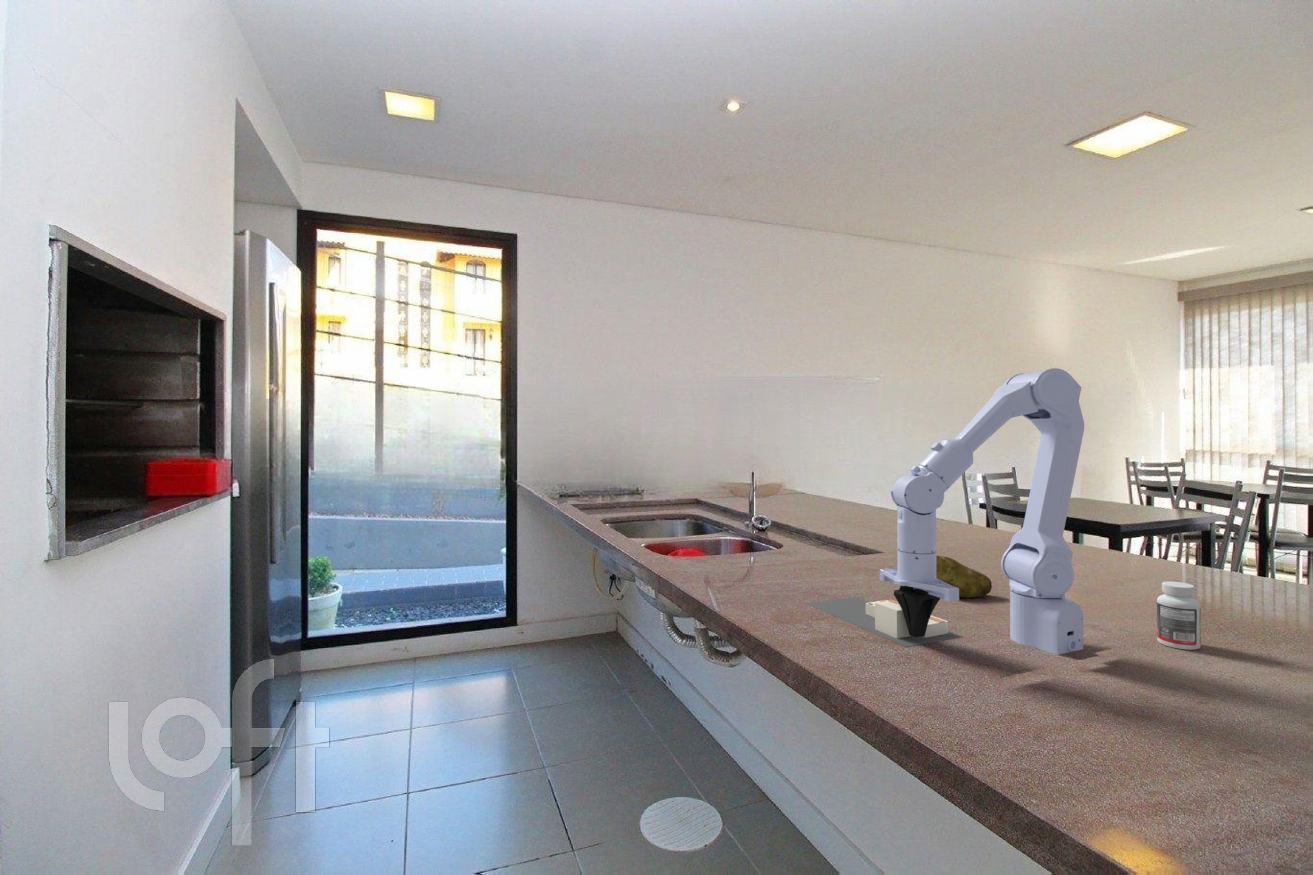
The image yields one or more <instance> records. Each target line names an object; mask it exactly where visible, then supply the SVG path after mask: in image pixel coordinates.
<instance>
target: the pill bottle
mask: <svg viewBox="0 0 1313 875" xmlns="http://www.w3.org/2000/svg"><path fill="white" fill-rule="evenodd" d="M1195 590H1196V589H1195V586H1194V585H1193V584H1190V583H1187V582H1181V581H1179V582H1178V581H1163V582H1161V591H1162V592H1163V594H1161V595H1159V596H1158V597H1157V599H1156V639H1157V641H1158V643H1160V644H1161V645H1164V646H1167V647H1169V648H1172V649H1178V650H1179V649H1180V650H1187V651H1189V650H1190V651H1194V650H1199V649H1200V648H1201V642H1202V641H1201V638H1202V637H1201V631H1202V630H1201V612H1202V611H1201V610H1202V609H1201V603H1200V601H1199V600H1197V599H1196V598H1194V596H1195V594H1196V591H1195Z"/></svg>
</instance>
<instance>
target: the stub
mask: <svg viewBox="0 0 1313 875" xmlns="http://www.w3.org/2000/svg"><path fill="white" fill-rule="evenodd" d="M887 600H888V599H887ZM875 629H876V630H878V631H880V632H883V633H885V634H888V635H890V636H892V637H895V638H902V637H908V636H910V635H909V632H908V628H907V624H906V621H905V617H904V614H903V612H902V609H901V607H900V605H899V603H898V601H897V600H894V599H889V600H888V601H884V602H877V603H875Z"/></svg>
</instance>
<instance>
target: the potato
mask: <svg viewBox="0 0 1313 875" xmlns="http://www.w3.org/2000/svg"><path fill="white" fill-rule="evenodd" d="M936 578H937V579H939V580H941V581H943V582H945V583H947V584H949V585H951V586H954V587H957V588H959V598H966V599H967V598H971V599H972V598H979V597H980V598H981V597H983V596H987V595H988V594H990V593H991V591H992V587H993V585H992V581H991V579H990V578H989V577H988V576H987V575H985V574H984V573H982V572H980V571H977V570H975V569H972V568H971V567H969V566H966V565H964V564H962V563H961V562H959V561H957V560H955V559H954V558H951V557H950V556H949V557H948V556H943V555H936Z"/></svg>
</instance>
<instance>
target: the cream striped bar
mask: <svg viewBox="0 0 1313 875" xmlns="http://www.w3.org/2000/svg"><path fill="white" fill-rule="evenodd" d="M884 601H888V599H881V600H880V599H879V600H877V601H868V602H869V603H866V614H867V615H870V616H872V617H875V603H877V602H884ZM948 631H949V621H948V620H945V619H943V618H940V617H936V616H934V615H931V616H930V619H929V622H928V625H927V629H926V633H925V636H923V637H925V638H926V637H931V636H937V635H942V634H948Z"/></svg>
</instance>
